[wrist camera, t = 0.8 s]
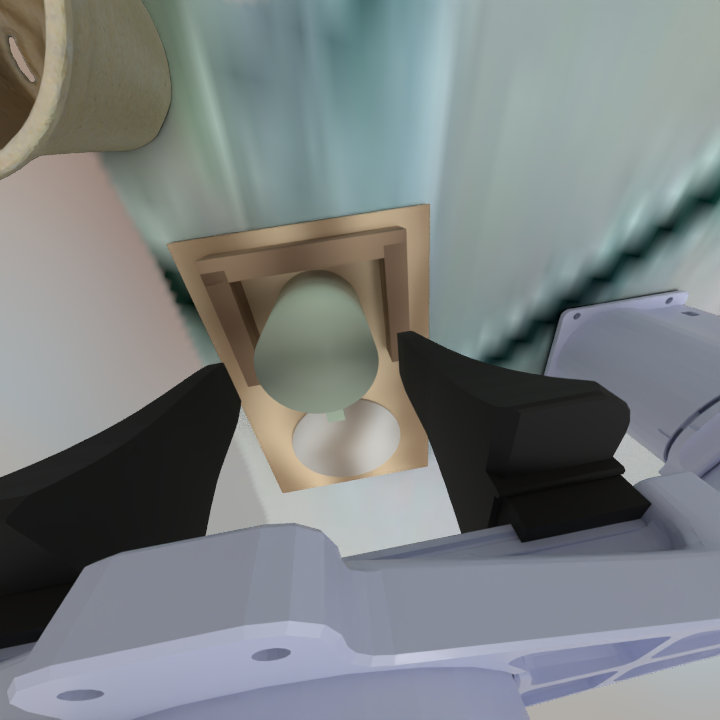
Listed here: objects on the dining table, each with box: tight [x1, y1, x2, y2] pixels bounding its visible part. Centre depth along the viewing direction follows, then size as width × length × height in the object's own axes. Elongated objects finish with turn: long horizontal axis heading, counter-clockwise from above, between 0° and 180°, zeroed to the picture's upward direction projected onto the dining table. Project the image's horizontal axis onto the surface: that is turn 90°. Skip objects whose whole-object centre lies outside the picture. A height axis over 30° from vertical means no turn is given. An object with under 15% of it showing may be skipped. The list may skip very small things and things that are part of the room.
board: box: [167, 204, 430, 493], centre depth 20 cm, size 14×22×3 cm, turn 8°
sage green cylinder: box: [254, 270, 379, 423], centre depth 15 cm, size 5×8×6 cm, turn 8°
